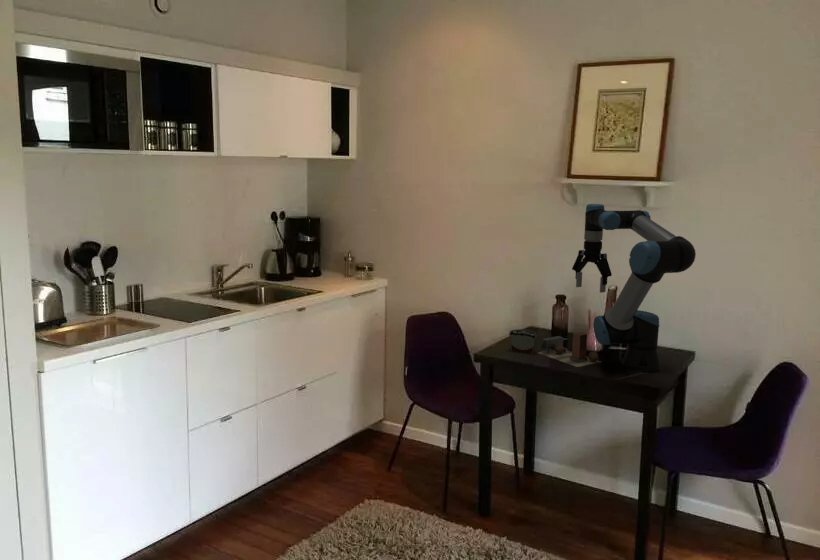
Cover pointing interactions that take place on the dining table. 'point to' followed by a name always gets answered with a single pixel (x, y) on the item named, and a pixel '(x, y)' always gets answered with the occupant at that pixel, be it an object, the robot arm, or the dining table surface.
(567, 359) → the board
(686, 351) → the dining table surface
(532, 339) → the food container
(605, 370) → the dining table surface
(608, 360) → the dining table surface
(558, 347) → the nut
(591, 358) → the nut
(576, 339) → the reddish brown block
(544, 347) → the anvil
